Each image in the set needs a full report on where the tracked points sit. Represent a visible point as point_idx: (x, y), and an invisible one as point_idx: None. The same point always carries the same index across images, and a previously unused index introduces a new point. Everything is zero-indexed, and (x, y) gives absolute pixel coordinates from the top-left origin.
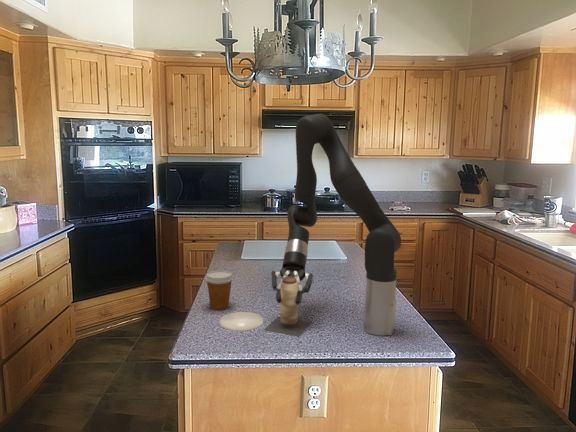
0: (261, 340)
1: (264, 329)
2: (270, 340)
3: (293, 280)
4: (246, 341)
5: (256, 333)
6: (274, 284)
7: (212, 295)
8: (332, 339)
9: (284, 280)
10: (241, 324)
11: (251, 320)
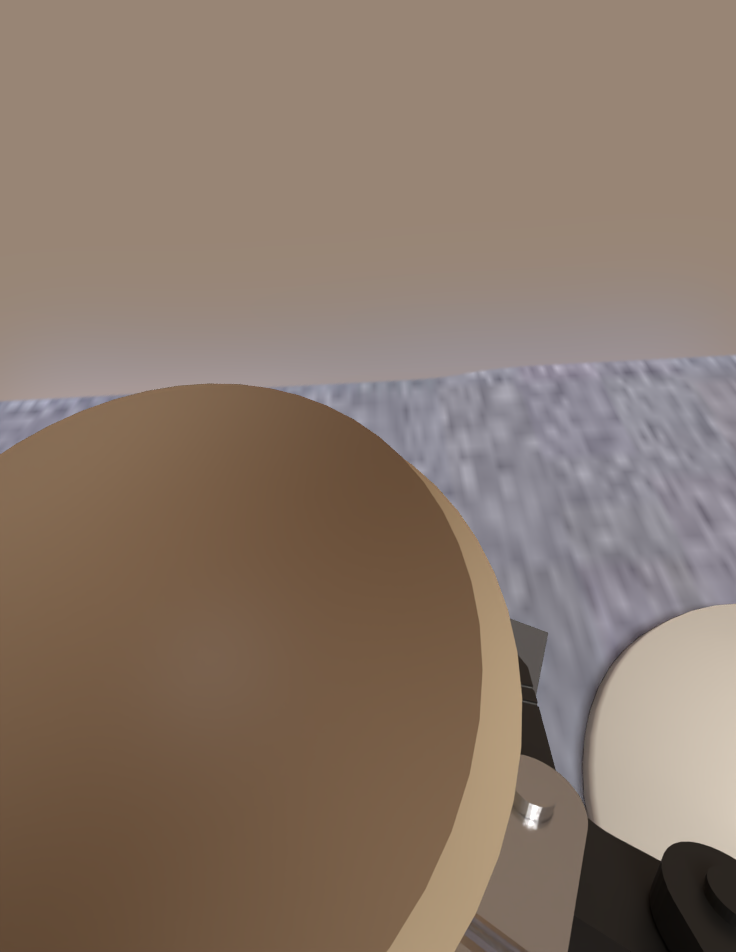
0: (520, 498)
1: (539, 645)
2: (463, 501)
3: (59, 427)
4: (610, 481)
5: (584, 601)
6: (731, 937)
7: None
8: None
9: (369, 444)
10: None
11: (724, 817)
